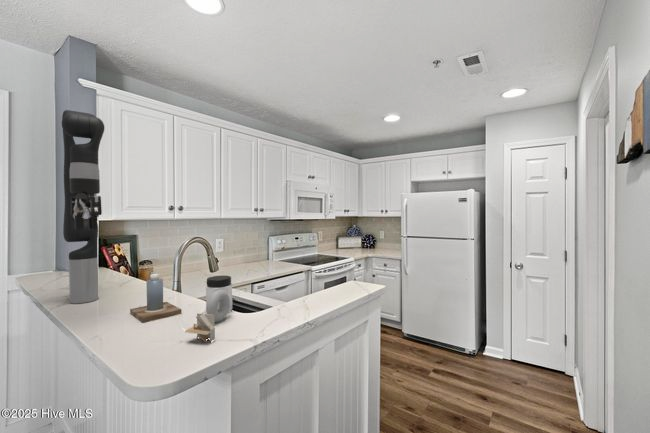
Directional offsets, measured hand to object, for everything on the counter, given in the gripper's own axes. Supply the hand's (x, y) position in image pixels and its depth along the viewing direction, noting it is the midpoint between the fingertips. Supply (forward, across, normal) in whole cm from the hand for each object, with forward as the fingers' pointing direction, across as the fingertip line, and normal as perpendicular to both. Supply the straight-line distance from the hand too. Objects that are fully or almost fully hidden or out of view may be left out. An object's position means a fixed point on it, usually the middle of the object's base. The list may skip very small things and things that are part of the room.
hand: (86, 229), depth 98 cm
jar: (+30, -29, -27) cm, 50 cm away
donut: (+30, -36, -20) cm, 52 cm away
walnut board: (+30, -10, -16) cm, 36 cm away
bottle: (+28, -10, -16) cm, 34 cm away
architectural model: (+31, -45, -8) cm, 55 cm away
